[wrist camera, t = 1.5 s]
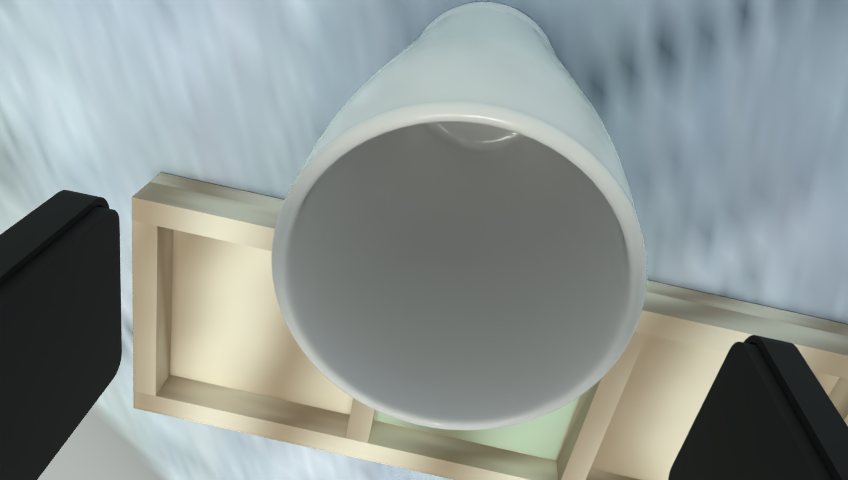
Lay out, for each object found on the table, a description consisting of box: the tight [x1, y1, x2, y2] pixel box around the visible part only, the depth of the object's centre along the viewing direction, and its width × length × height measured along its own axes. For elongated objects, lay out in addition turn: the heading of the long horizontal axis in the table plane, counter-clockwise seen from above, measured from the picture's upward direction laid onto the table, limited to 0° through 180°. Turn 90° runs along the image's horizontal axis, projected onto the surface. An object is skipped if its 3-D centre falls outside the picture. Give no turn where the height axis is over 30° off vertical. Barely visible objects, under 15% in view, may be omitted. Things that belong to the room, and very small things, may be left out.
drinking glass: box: [271, 2, 647, 430], centre depth 19 cm, size 7×7×15 cm
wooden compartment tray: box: [132, 173, 848, 480], centre depth 30 cm, size 30×11×2 cm, turn 79°
